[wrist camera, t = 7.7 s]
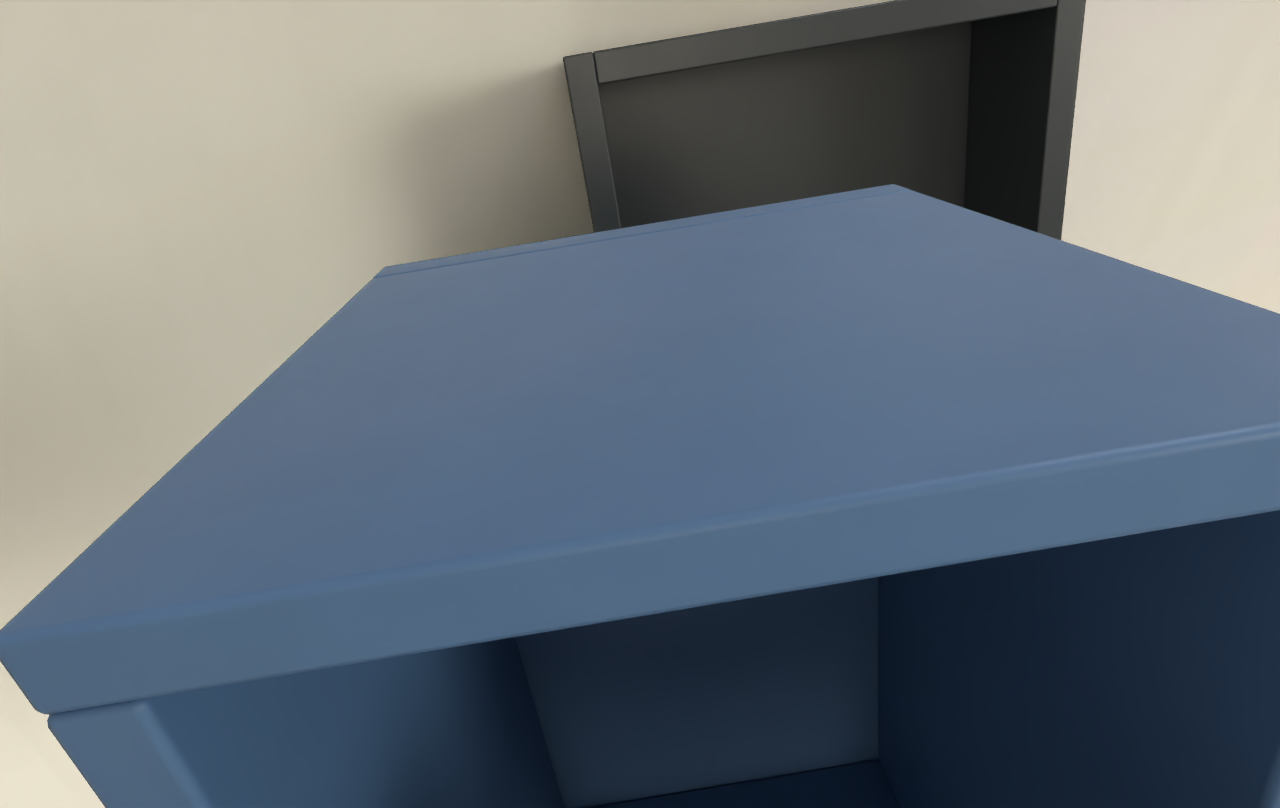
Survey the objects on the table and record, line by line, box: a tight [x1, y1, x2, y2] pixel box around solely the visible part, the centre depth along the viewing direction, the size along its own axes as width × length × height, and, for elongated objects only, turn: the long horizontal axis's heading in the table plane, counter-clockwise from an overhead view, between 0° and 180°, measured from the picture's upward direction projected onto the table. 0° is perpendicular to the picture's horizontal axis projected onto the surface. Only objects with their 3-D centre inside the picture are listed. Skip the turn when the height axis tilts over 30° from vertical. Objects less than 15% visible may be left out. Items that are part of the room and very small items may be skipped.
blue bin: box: [0, 184, 1280, 808], centre depth 9 cm, size 7×11×7 cm, turn 8°
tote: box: [563, 0, 1086, 240], centre depth 24 cm, size 14×16×5 cm
